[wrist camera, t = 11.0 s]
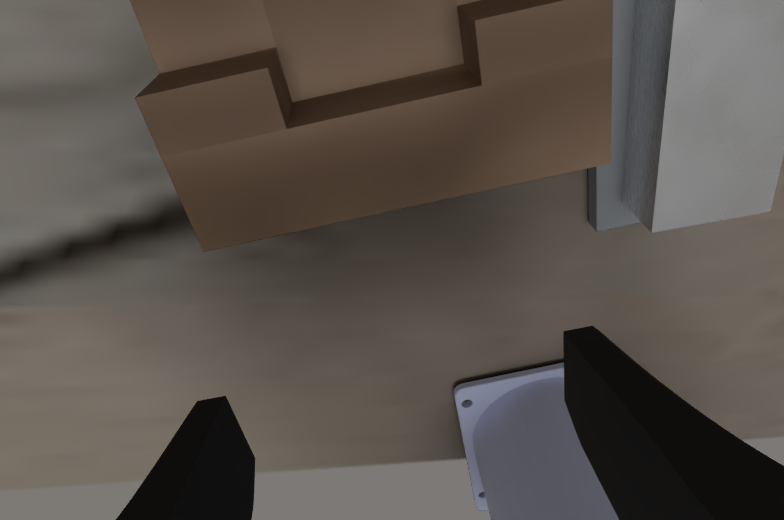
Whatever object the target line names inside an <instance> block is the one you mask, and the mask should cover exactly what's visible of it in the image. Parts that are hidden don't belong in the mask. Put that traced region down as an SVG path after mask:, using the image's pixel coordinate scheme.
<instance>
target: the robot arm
mask: <svg viewBox="0 0 784 520" xmlns="http://www.w3.org/2000/svg"><path fill="white" fill-rule="evenodd" d="M454 397H455V403H456V408H457V413H458V418H459V423H460V428H461V433H462V438H463V444H464V449H465V454H466V459H467V464H468V469H469V474H470V479H471V484H472V489H473V495H474V500H475V505H476V508H477V509H478V510H480V511H488V510H489V513H490V516H491V520H784V466H783V465H781V464H779V463H778V462H776V461H774V460H772V459H771V458H769V457H768V456H766V455H764V454H763V453H761V452H759V451H758V450H756V449H755V448H753V447H751V446H750V445H748V444H747V443H745V442H743V441H742V440H740V439H739V438H737V437H736V436H734V435H733V434H731V433H730V432H728V431H727V430H725V429H724V428H722V427H721V426H719V425H718V424H717V423H715V422H714V421H712V420H711V419H709V418H708V417H707V416H705V415H704V414H702V413H701V412H699V411H698V410H697V409H695V408H694V407H693V406H691V405H690V404H688V403H687V402H686V401H684V400H683V399H682V398H680V397H679V396H678V395H677V394H675V393H674V392H673V391H671V390H670V389H669V388H667V387H666V386H665V385H664V384H662V383H661V382H660V381H658V380H657V379H656V378H655V377H653V376H652V375H651V374H650V373H648V372H647V371H646V370H645V369H643V368H642V367H641V366H640V365H639V364H637V363H636V362H635V361H634V360H633V359H631V358H630V357H629V356H628V355H627V354H625V353H624V352H623V351H622V350H621V349H620V348H618V347H617V346H616V345H615V344H614V343H613V342H612V341H610V340H609V339H608V338H607V337H606V336H605V335H603V334H602V333H601V332H600V331H599V330H598V329H596V328H595V327H593V326H590V327H584V328H579V329H574V330H569V331H564V363H559V364H554V365H549V366H544V367H539V368H534V369H529V370H525V371H520V372H515V373H510V374H505V375H500V376H495V377H491V378H486V379H481V380H476V381H471V382H466V383H462V384H459V385H458V386H456V387H455V389H454ZM465 400H468V401H465ZM463 401H465V402H463ZM254 477H255V457H254V455H253V453H252V451H251V449H250V447H249V444H248V442H247V440H246V438H245V436H244V434H243V432H242V430H241V428H240V425H239V423H238V421H237V419H236V417H235V415H234V413H233V411H232V408H231V406H230V404H229V402H228V400H227V398H226V396H222V397H217V398H212V399H207V400H201V401H197V403H196V404H195V406H194V407H193V408H192V410H191V411H190V413H189V414H188V416H187V417H186V419H185V420H184V422H183V423H182V425H181V426H180V428H179V429H178V431H177V432H176V434H175V436H174V437H173V439H172V440H171V442H170V443H169V445H168V446H167V448H166V449H165V451H164V452H163V454H162V455H161V457H160V458H159V460H158V461H157V463H156V464H155V466H154V467H153V468H152V470H151V471H150V473H149V474H148V476H147V477H146V479H145V480H144V482H143V483H142V484H141V486H140V487H139V489H138V490H137V492H136V493H135V495H134V496H133V498H132V499H131V500H130V502H129V503H128V504H127V506H126V507H125V508H124V510H123V511H122V512H121V514H120V515H119V516H118V518H117V519H116V520H251V518H252V511H253V501H254V479H255V478H254Z"/></svg>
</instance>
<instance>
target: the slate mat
mask: <svg viewBox="0 0 784 520" xmlns="http://www.w3.org/2000/svg"><path fill="white" fill-rule="evenodd" d="M634 2H635V0H613V47H612V123H611V164H606V165H601V166H597V167H592V168H588V199H589V223H590V224H591V225H592V227H593V228H594V229H595V230H596V232H598V231H603V230H608V229H613V228H617V227H622V226H627V225H631V224H636V223H641V221H640V220H639V219H638V218H637V217H636V216H635V215H634V214H633V213H632V212H631V211H630V210H629V209H628V208H627V207H626V206H625V205H624V204H623V203H622V202H621V196H622V181H623V166H624V151H625V137H626V122H627V107H628V92H629V77H630V62H631V47H632V32H633V17H634Z"/></svg>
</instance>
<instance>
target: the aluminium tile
mask: <svg viewBox="0 0 784 520" xmlns="http://www.w3.org/2000/svg"><path fill="white" fill-rule="evenodd" d="M783 155H784V0H635V2H634V17H633V32H632V47H631V62H630V77H629V92H628V107H627V122H626V137H625V151H624V166H623V181H622V196H621V202H622V203H623V204H624V205H625V206H626V207H627V208H628V209H629V210H630V211H631V212H632V213H633V214H634V215H635V216H636V217H637V218H638V219H639V220H640V221H641V222H642V223H643V224H644V225H645V226H646V227H647V229H648V230H649V231H650V232H651V233H654V232H660V231H665V230H671V229H676V228H682V227H687V226H693V225H699V224H704V223H710V222H715V221H721V220H726V219H732V218H737V217H743V216H749V215H754V214H760V213H765V212H771V207H772V203H773V199H774V194H775V190H776V185H777V181H778V177H779V172H780V168H781V164H782V159H783Z"/></svg>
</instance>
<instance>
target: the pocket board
mask: <svg viewBox="0 0 784 520" xmlns="http://www.w3.org/2000/svg"><path fill="white" fill-rule="evenodd" d="M130 2H131V5H132V7H133V10H134V12H135V14H136V17H137V19H138V22H139V24H140V26H141V29H142V31H143V34H144V36H145V39H146V41H147V43H148V46H149V48H150V51H151V53H152V55H153V58H154V60H155V63H156V65H157V68H158V70H159V72H160V74H159V75H158V76H157V77H156V78H155V79H154V80H153V81H152V82H151V83H150V84H149V85H148V86H147V87H146V88H145V89H143V90H142V91H141V92H140V93H139V94H138V95H137V96H136V97H135V100H136V102H137V104H138V106H139V109H140V111H141V113H142V115H143V118H144V120H145V122H146V124H147V126H148V129H149V131H150V133H151V135H152V138H153V140H154V142H155V144H156V147H157V149H158V151H159V153H160V156H161V158H162V160H163V162H164V164H165V167H166V169H167V171H168V173H169V176H170V178H171V180H172V182H173V185H174V187H175V189H176V191H177V194H178V196H179V198H180V200H181V202H182V205H183V207H184V209H185V211H186V214H187V216H188V218H189V220H190V223H191V225H192V227H193V229H194V231H195V234H196V236H197V238H198V240H199V243H200V245H201V247H202V249H203V252H205V251H209V250H214V249H219V248H223V247H228V246H232V245H237V244H242V243H246V242H251V241H256V240H260V239H265V238H269V237H274V236H279V235H283V234H288V233H292V232H297V231H302V230H306V229H311V228H315V227H320V226H325V225H329V224H334V223H339V222H343V221H348V220H352V219H357V218H362V217H366V216H371V215H375V214H380V213H385V212H389V211H394V210H398V209H403V208H408V207H412V206H417V205H422V204H426V203H431V202H435V201H440V200H445V199H449V198H454V197H458V196H463V195H468V194H472V193H477V192H482V191H486V190H491V189H495V188H500V187H505V186H509V185H514V184H518V183H523V182H528V181H532V180H537V179H541V178H546V177H551V176H555V175H560V174H565V173H569V172H574V171H578V170H583V169H588V168H592V167H597V166H601V165H606V164H611V123H612V47H613V0H130Z"/></svg>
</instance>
